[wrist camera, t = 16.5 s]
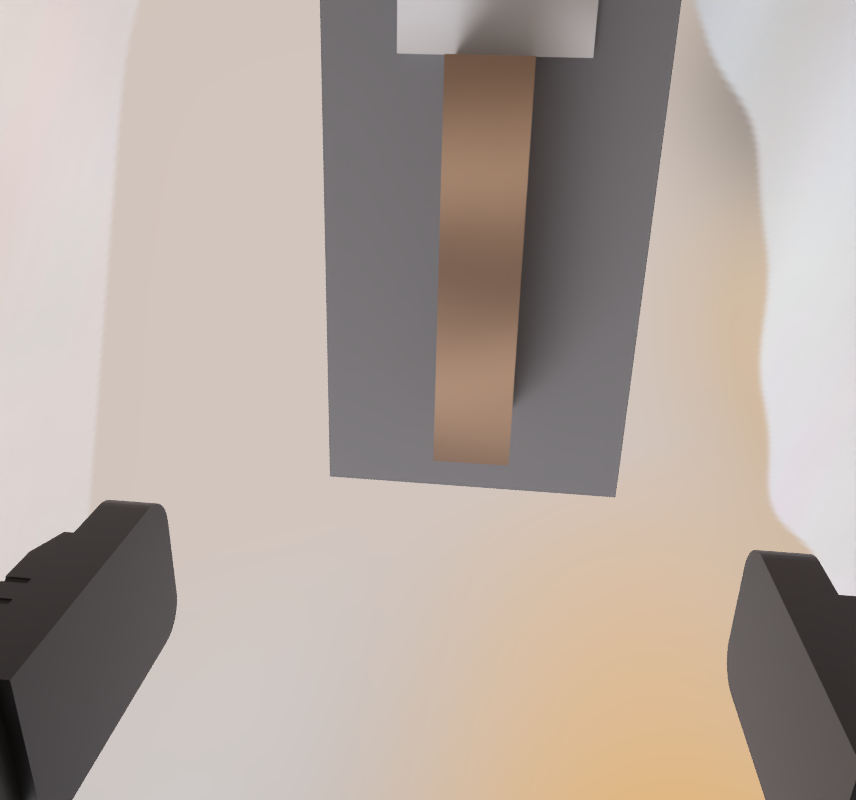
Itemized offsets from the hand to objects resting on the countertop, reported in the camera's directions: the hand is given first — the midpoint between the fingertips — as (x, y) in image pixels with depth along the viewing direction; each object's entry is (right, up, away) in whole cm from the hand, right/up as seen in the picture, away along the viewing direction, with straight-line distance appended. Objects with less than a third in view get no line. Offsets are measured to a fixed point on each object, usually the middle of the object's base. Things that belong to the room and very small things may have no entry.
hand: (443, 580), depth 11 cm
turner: (+2, +11, +15) cm, 19 cm away
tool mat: (+2, +10, +16) cm, 19 cm away
